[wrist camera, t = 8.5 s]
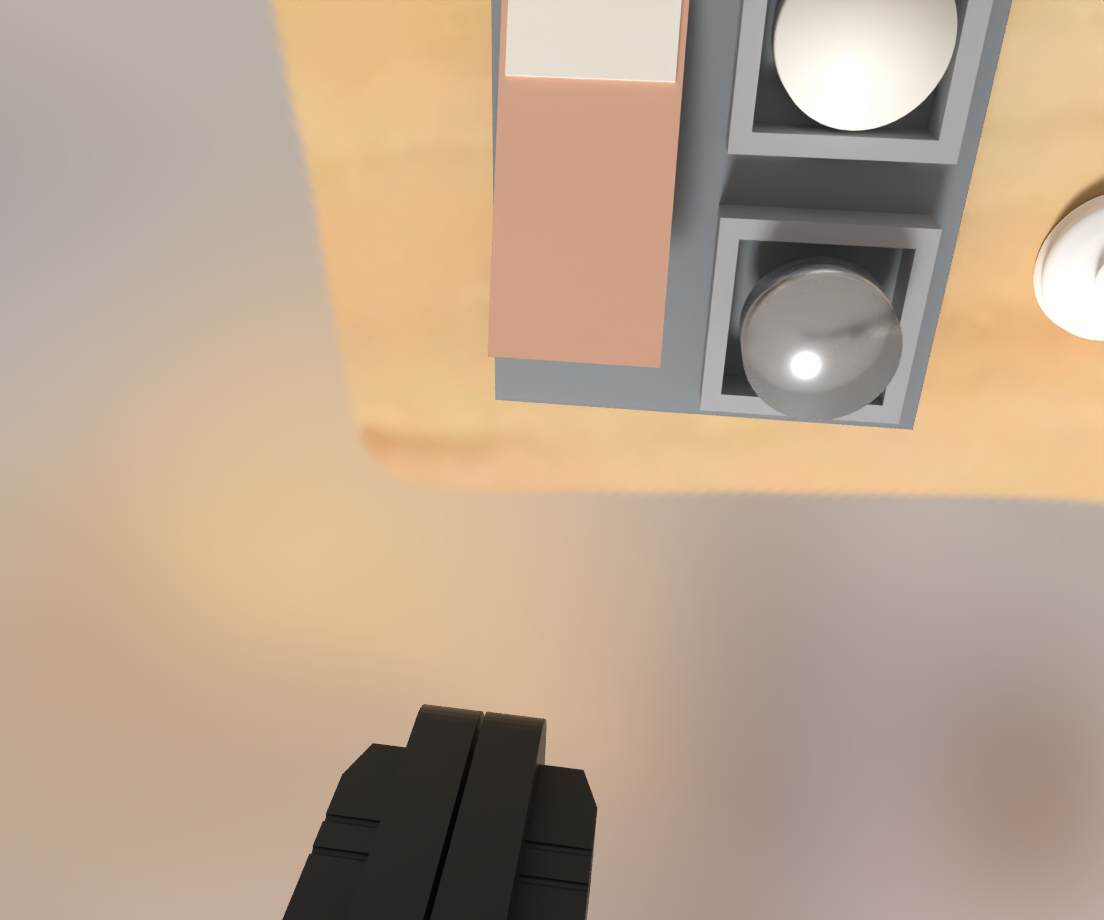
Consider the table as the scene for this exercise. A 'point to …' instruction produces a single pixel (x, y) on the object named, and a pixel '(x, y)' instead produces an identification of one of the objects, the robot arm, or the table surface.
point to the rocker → (585, 178)
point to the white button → (861, 56)
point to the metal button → (819, 338)
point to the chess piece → (1074, 271)
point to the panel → (787, 215)
